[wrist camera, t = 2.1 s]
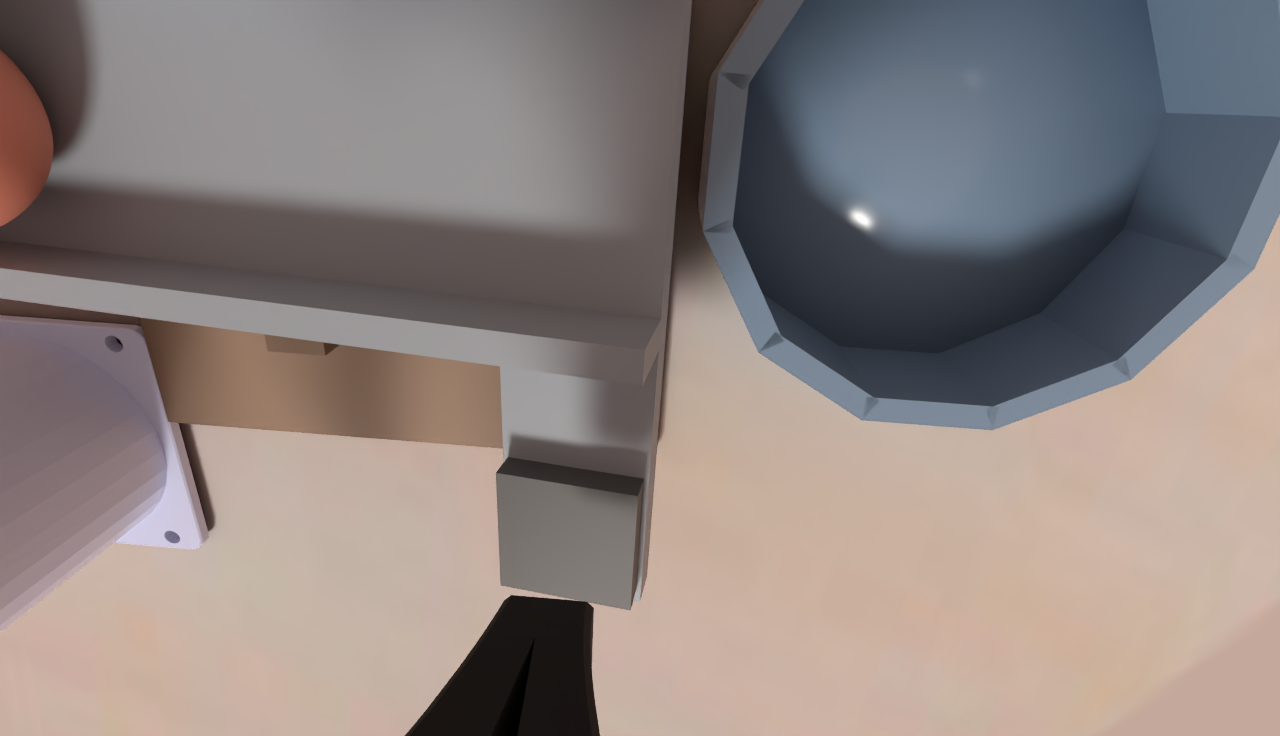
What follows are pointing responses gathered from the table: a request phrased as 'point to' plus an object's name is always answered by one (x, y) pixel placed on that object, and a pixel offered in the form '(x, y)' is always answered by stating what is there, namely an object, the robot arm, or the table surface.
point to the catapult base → (321, 387)
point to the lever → (390, 213)
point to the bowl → (987, 191)
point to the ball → (21, 142)
